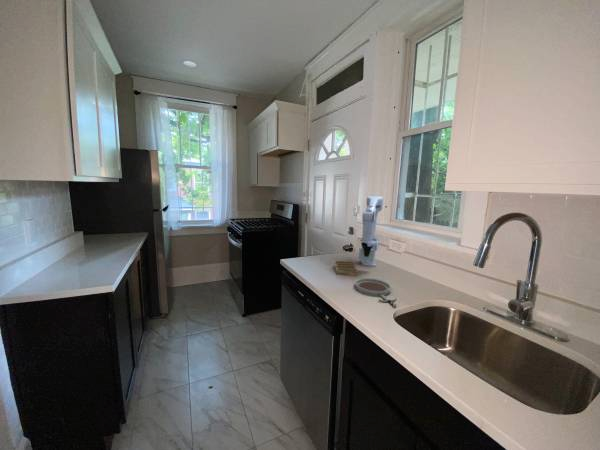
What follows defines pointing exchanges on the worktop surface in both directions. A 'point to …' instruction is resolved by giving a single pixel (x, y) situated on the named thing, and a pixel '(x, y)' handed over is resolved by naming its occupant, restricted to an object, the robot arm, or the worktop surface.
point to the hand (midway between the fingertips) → (366, 255)
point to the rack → (345, 268)
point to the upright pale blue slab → (362, 257)
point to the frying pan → (375, 288)
